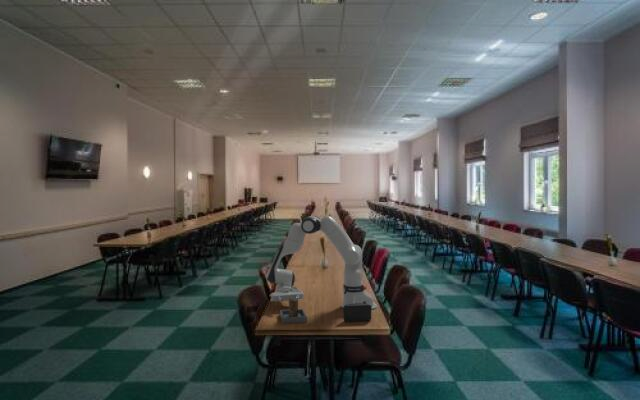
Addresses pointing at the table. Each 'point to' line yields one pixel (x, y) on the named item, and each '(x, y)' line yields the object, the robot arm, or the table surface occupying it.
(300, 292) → the robot arm
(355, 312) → the blue scroll wheel mouse
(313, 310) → the table surface
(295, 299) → the walnut block
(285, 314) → the tray
